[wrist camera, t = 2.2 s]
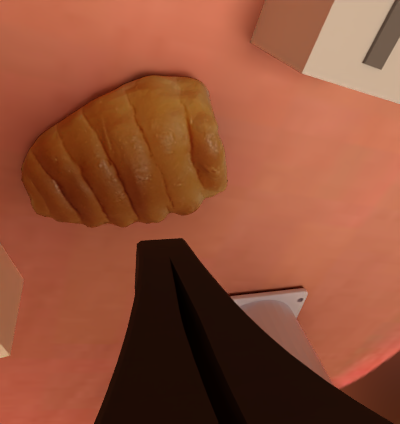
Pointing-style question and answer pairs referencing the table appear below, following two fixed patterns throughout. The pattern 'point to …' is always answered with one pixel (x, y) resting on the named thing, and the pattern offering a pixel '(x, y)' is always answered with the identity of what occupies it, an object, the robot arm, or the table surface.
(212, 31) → the table surface
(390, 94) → the marked block grey
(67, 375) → the table surface
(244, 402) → the robot arm
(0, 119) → the table surface
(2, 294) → the marked block cream
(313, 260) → the table surface
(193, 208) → the pastry
